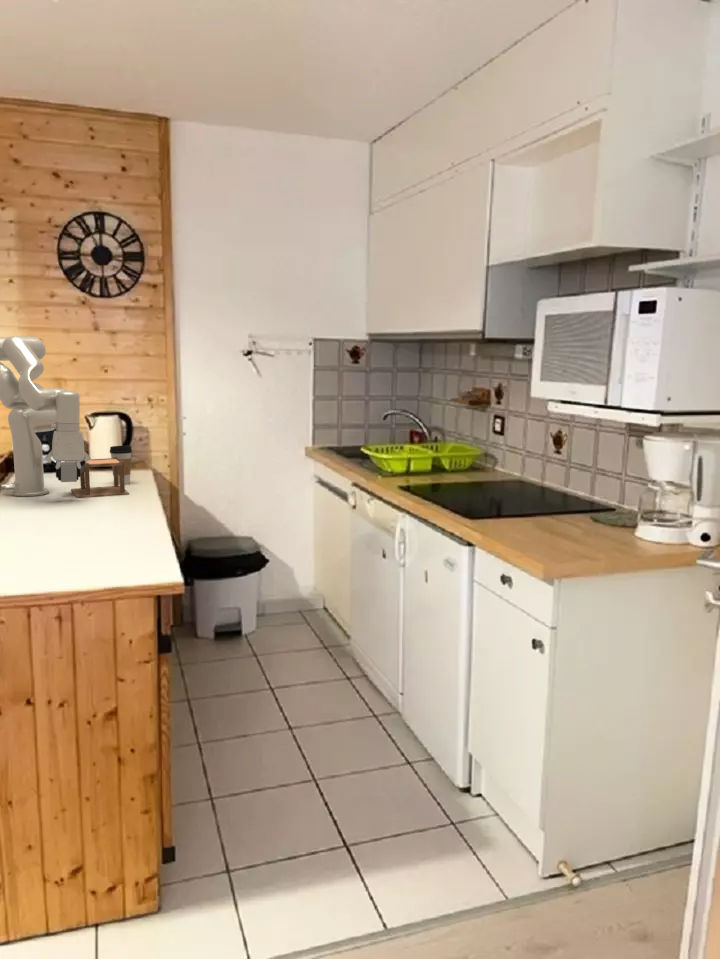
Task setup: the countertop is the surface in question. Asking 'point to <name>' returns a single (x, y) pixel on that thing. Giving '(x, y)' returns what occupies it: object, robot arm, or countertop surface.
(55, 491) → the countertop surface
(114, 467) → the frame
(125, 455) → the coffee cup
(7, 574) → the countertop surface
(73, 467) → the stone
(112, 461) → the trapdoor
